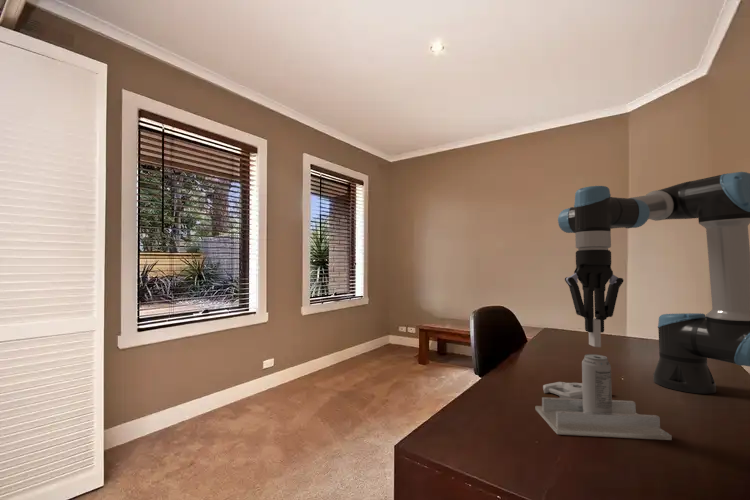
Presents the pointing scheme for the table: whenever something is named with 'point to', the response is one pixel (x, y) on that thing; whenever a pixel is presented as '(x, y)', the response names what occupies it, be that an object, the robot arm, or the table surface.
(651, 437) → the grey flanged channel tray
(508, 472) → the table surface
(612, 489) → the table surface
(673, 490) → the table surface
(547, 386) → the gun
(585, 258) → the robot arm
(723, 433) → the table surface
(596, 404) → the energy drink can
